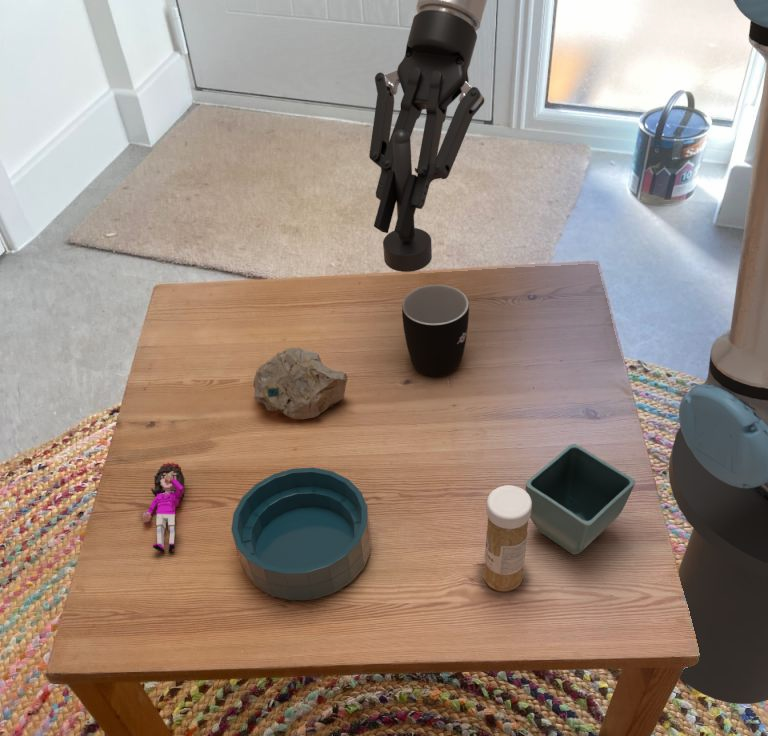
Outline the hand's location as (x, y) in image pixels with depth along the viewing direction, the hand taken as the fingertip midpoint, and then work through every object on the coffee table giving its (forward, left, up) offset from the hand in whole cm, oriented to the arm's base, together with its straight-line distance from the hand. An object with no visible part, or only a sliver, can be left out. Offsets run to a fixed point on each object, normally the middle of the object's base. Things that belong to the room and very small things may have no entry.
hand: (391, 231), depth 99 cm
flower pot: (-32, -10, -24) cm, 42 cm away
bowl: (-23, +20, -24) cm, 39 cm away
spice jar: (-35, 0, -24) cm, 43 cm away
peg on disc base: (+3, -3, -6) cm, 7 cm away
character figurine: (-12, +35, -24) cm, 44 cm away
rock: (+1, +14, -24) cm, 28 cm away
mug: (+4, -7, -24) cm, 25 cm away
